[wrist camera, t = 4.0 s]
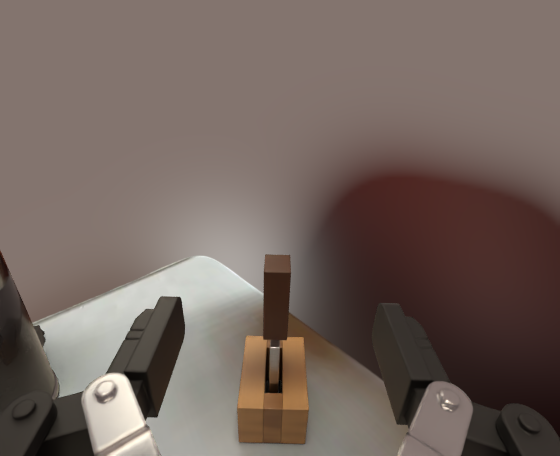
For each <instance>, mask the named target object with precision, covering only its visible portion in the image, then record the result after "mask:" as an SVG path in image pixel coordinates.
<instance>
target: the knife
mask: <svg viewBox="0 0 560 456" xmlns="http://www.w3.org/2000/svg"><path fill="white" fill-rule="evenodd" d="M290 278H291V265H290V255H265V265H264V312H263V340H270V370H269V393H278V377H279V354H280V340H287V331H288V313H289V295H290V294H289V293H290Z"/></svg>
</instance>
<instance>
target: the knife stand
mask: <svg viewBox="0 0 560 456" xmlns="http://www.w3.org/2000/svg"><path fill="white" fill-rule="evenodd" d="M269 370H270V340H263V336H246V342H245V350H244V358H243V366H242V374H241V382H240V390H239V398H238V406H237V413H238V434H239V442H251V443H292V444H305V437H306V429H307V420H308V411H309V407H308V393H307V380H306V366H305V352H304V338H303V337H287V340H280V354H279V377H278V380H281V393H265V392H266V380H269Z"/></svg>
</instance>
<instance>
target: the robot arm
mask: <svg viewBox="0 0 560 456" xmlns="http://www.w3.org/2000/svg"><path fill="white" fill-rule="evenodd" d="M44 334H45V333H44V331H42V330H41V329H40V326H39V325H38V326H33V324H32V322H31V320H30V317H29V315H28V312H27V310H26V308H25V305H24V303H23V301H22V299H21V297H20V294H19V292H18V290H17V287H16V285H15V283H14V280H13V278H12V276H11V273H10V271H9V269H8V267H7V265H6V262H5V260H4V258H3V255H2V253H1V251H0V456H161V454H160V452H159V449H158V447H157V445H156V442H155V440H154V437H153V435H152V432H151V430H150V428H149V426H147V424H146V422H145V421H146V418H147V417H157V416H158V413H159V411H160V408H161V405H162V402H163V399H164V396H165V393H166V390H167V387H168V384H169V381H170V378H171V375H172V372H173V369H174V366H175V363H176V360H177V358H178V355H179V352H180V349H181V346H182V343H183V340H184V334H185V322H184V315H183V308H182V301H181V298H180V297H163V296H162V297H160V298H159V300H158V302H157V304H156V306H155V308H154V309H146V310H145V311H144V312H142V313H141V314H140V315H139V316H138V317H137V318H136V319H135V321H134V323H133V325H132V326H131V328H130V331H129V332H128V334H127V336H126V337H125V340H124V341H123V343H122V345H121V347H120V348H119V350H118V352H117V354H116V356H115V358H114V360H113V361H112V363H111V365H110V367H109V369H108V371H107V372H106V374H105V375H102V376H100V377H98V378H97V379H95V380H94V381H92V382H91V383H90V384H89V385H88V386H87V387H86V389H85V390H84V391H82V392H79V393H76V394H72V395H68V396H64V397H60V398H57V396H58V392H59V383H58V380H57V377H56V375H55V373H54V372H53V370H52V369H51V367H50V363H49V361H48V359H47V356H46V354H45V352H44V350H43V346H44V343H45V338H44ZM372 343H373V348H374V351H375V354H376V357H377V361H378V364H379V367H380V371H381V374H382V377H383V380H384V384H385V387H386V390H387V393H388V397H389V400H390V403H391V407H392V410H393V413H394V416H395V420H396V423H397V424H400V425H408V428H409V430H408V432H407V433H406V435H405V437H404V440H403V442H402V444H401V447H400V449H399V451H398V454H397V456H560V439H559V437H558V435H557V434H556V432H555V431H554V429H553V427H552V426H551V425H550V423H549V422H548V421H547V420H546V419H545V418H544V417H543V416H541V415H540V414H539V413H538V412H536V411H535V410H533V409H531V408H529V407H527V406H524V405H521V404H516V403H514V404H513V403H512V404H508V405H506V406H505V407H504V408H503V410H502V411H498V410H495V409H492V408H488V407H485V406H482V405H479V404H476V403H474V402H472V401H470V399H469V398H468V396H467V395H466V394H465V393H464V392H463V391H462V390H461V389H459V388H458V387H457V386H455V385H453V384H451V383H450V381H449V379H448V377H447V375H446V373H445V371H444V369H443V367H442V365H441V363H440V361H439V359H438V357H437V355H436V353H435V351H434V349H432V345H431V343H430V341H429V340H428V337H427V335H426V333H425V331H424V329H423V327H422V326H421V325H420V324H419V323H418V322H417V321H416V320H415V319H414V318H413V317H405V315H404V313H403V311H402V309H401V307H400V305H399V304H393V303H392V304H391V303H379V305H378V308H377V312H376V316H375V321H374V325H373V330H372Z"/></svg>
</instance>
